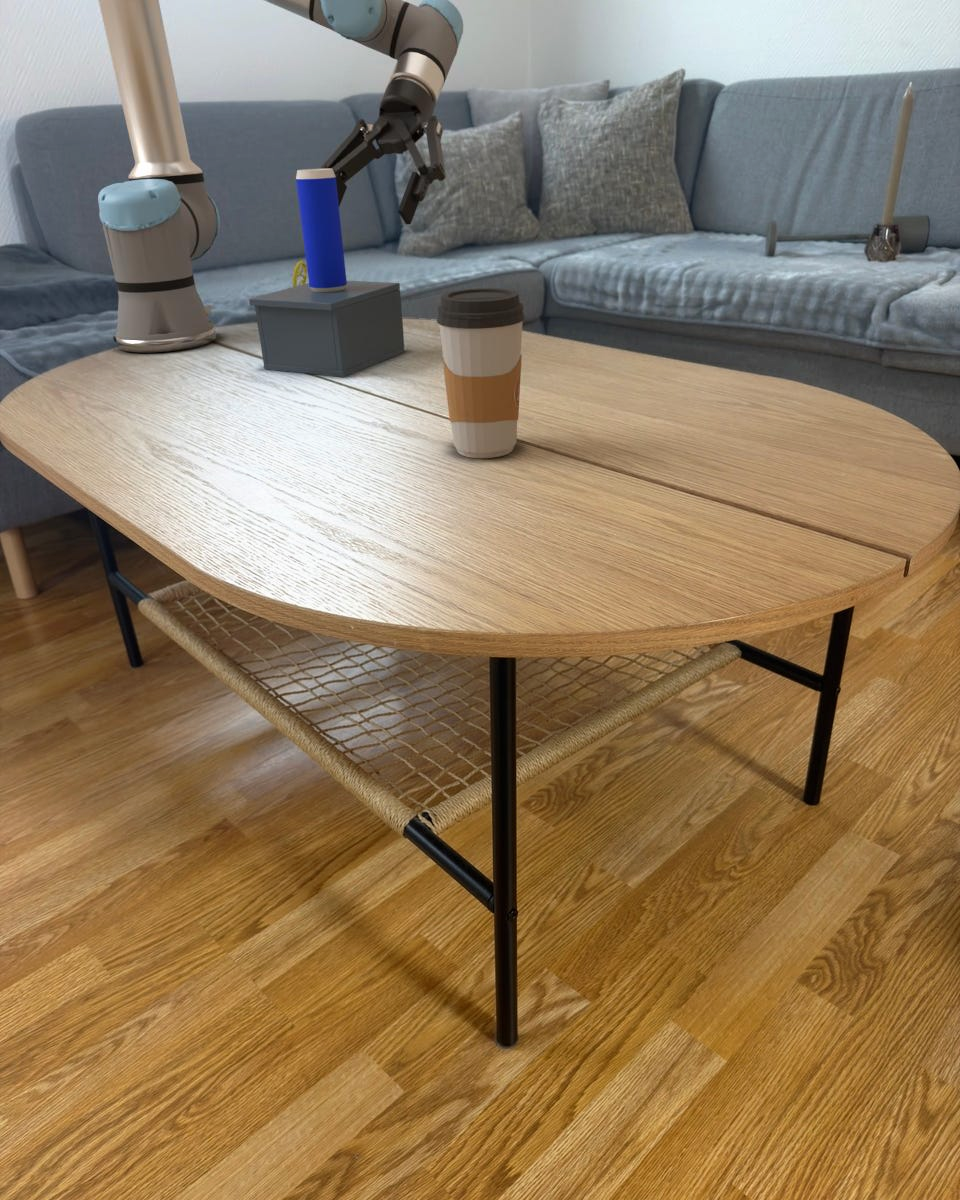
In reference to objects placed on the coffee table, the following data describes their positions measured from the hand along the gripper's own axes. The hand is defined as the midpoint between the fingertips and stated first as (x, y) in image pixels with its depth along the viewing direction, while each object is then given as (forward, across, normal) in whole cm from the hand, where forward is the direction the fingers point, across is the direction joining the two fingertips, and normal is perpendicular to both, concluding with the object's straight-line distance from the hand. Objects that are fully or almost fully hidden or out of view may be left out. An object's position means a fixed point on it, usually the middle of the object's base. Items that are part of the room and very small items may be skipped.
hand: (363, 217), depth 124 cm
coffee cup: (+39, -38, +13) cm, 56 cm away
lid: (+14, 0, +1) cm, 14 cm away
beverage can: (+13, 0, +1) cm, 13 cm away
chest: (+20, 0, -5) cm, 21 cm away
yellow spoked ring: (+10, +20, -16) cm, 27 cm away
